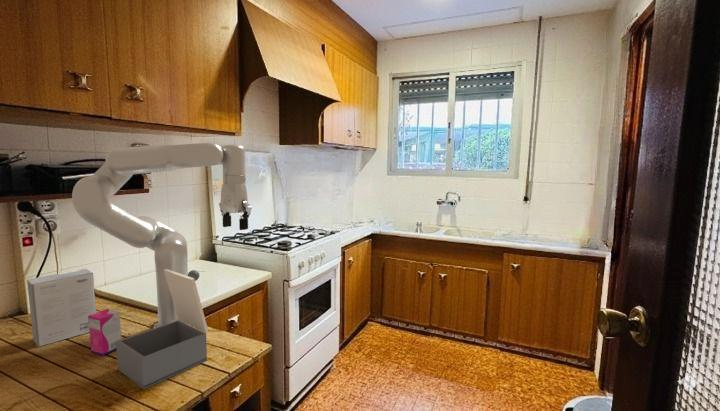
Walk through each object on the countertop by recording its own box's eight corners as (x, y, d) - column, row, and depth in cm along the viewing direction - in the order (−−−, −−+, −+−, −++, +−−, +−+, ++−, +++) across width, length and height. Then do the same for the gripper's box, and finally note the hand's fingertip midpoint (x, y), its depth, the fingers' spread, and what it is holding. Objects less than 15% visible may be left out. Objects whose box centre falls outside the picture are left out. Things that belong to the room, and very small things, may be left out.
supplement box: (109, 343, 112) (107, 307, 111) (122, 347, 110) (120, 311, 109) (89, 352, 107) (87, 314, 106) (102, 356, 105) (100, 318, 104)
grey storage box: (117, 369, 98) (116, 341, 97) (179, 344, 112) (178, 320, 111) (143, 389, 90) (142, 358, 89) (206, 360, 103) (206, 333, 103)
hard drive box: (91, 324, 126) (87, 268, 124) (98, 330, 121) (94, 272, 119) (31, 340, 114) (26, 278, 112) (36, 347, 109) (31, 283, 107)
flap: (163, 270, 106) (182, 261, 111) (178, 319, 111) (196, 309, 116) (191, 279, 98) (211, 270, 102) (206, 333, 103) (224, 321, 107)
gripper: (210, 179, 130) (211, 226, 132) (240, 181, 120) (241, 232, 122) (228, 179, 136) (229, 224, 138) (258, 180, 126) (259, 229, 128)
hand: (235, 228), depth 130 cm, fingers open, 9 cm apart
